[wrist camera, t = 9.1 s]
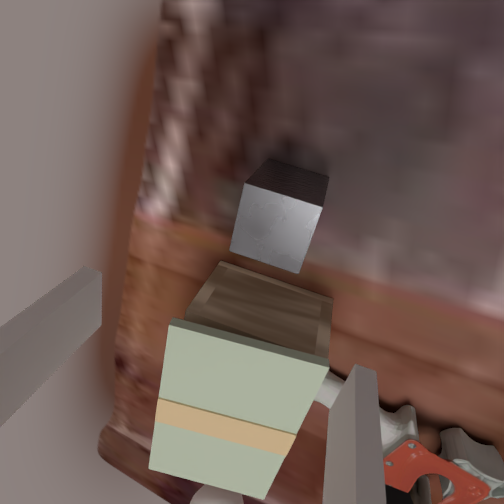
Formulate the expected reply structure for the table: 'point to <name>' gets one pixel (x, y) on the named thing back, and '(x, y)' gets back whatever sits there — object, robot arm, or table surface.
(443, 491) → the tape dispenser
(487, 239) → the table surface
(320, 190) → the block
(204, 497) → the light bulb
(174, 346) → the lid
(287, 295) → the box
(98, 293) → the robot arm
